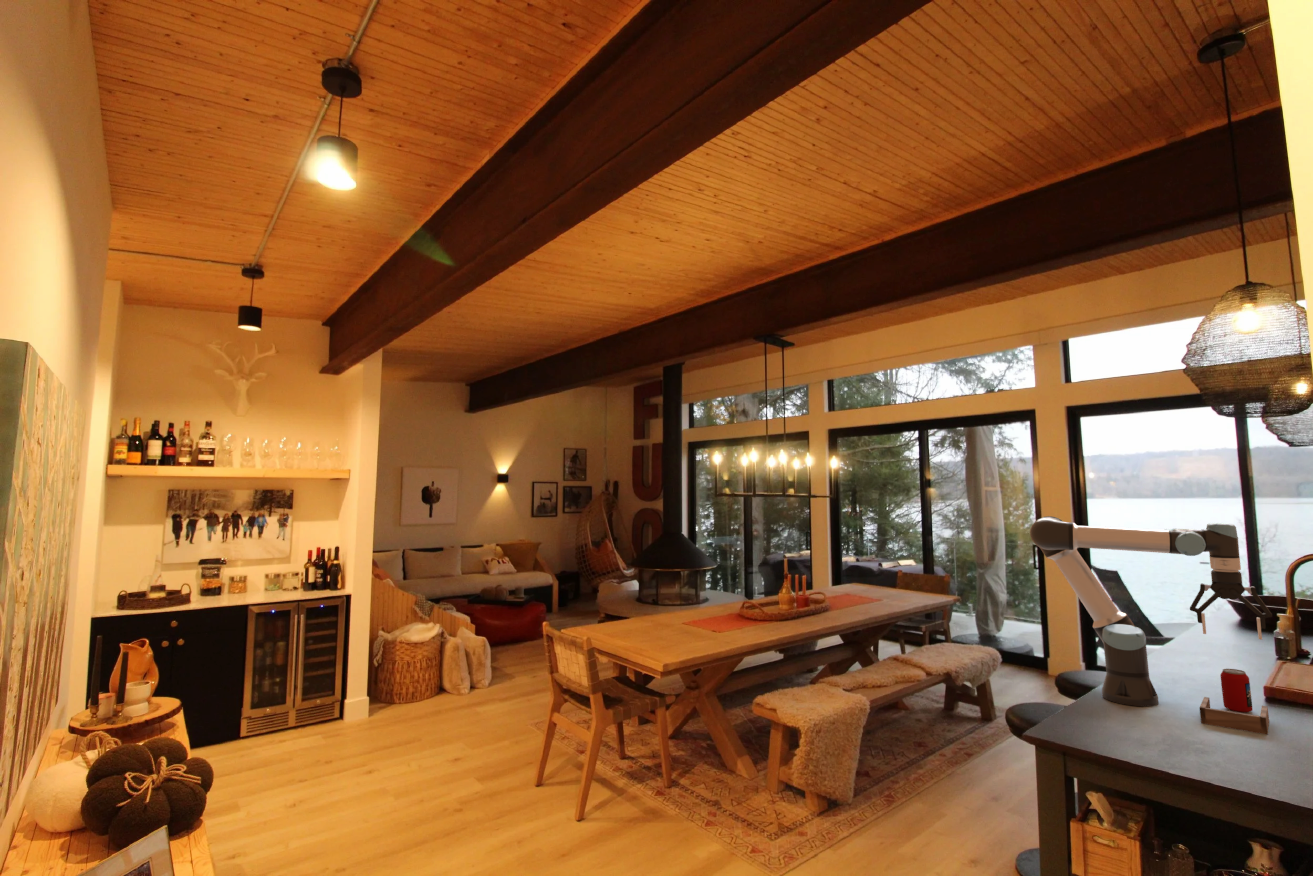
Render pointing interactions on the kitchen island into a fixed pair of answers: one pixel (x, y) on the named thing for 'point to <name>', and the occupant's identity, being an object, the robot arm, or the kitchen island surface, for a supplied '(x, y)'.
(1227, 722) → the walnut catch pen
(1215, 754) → the kitchen island surface
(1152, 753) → the kitchen island surface
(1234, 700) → the beverage can
